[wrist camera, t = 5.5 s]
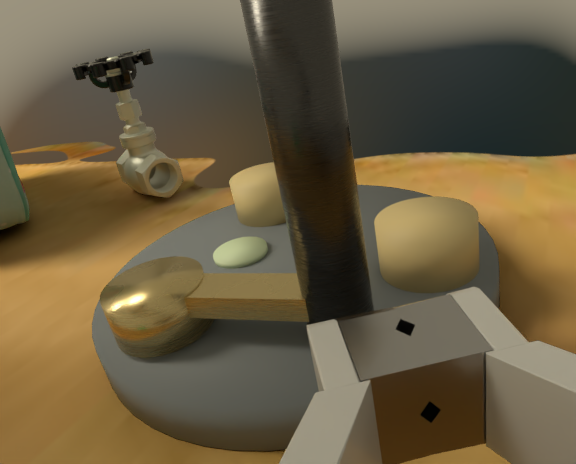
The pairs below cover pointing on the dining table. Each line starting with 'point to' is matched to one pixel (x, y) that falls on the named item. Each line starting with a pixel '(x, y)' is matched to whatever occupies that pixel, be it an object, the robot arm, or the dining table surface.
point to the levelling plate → (284, 334)
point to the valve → (134, 126)
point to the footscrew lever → (294, 194)
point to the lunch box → (11, 190)
